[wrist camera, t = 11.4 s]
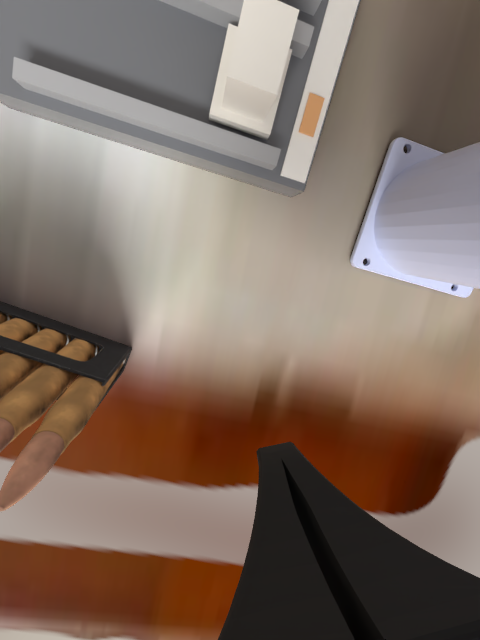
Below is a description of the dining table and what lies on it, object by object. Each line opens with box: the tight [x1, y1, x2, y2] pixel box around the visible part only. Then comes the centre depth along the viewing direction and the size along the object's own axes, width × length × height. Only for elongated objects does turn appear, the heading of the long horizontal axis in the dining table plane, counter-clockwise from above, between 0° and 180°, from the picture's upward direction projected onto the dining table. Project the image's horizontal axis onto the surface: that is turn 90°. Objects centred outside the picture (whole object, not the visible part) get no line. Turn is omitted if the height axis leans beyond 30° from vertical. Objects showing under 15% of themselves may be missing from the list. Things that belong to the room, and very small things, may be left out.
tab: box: [209, 0, 299, 140], centre depth 13 cm, size 3×4×4 cm
